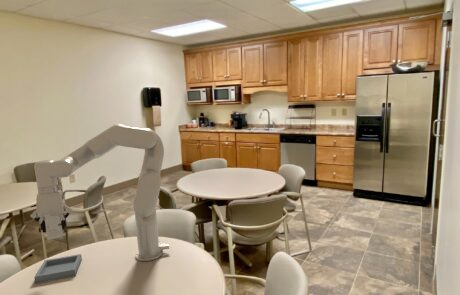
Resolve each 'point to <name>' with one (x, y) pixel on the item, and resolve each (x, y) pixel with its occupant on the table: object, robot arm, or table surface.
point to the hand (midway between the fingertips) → (54, 229)
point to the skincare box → (53, 226)
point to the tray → (58, 268)
